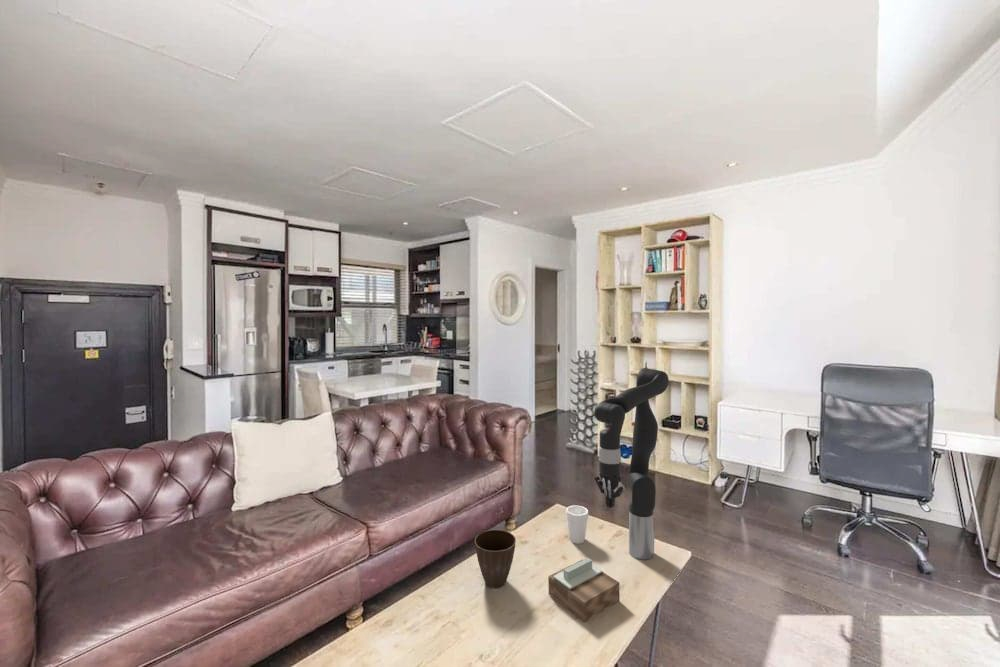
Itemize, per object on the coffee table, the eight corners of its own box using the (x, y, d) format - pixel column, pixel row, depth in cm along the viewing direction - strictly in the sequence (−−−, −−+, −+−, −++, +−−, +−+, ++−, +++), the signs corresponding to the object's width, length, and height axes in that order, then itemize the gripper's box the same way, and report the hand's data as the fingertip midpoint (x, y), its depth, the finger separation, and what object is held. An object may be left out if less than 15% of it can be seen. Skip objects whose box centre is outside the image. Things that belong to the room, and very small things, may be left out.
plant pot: (505, 566, 168) (504, 526, 167) (523, 588, 155) (523, 544, 154) (469, 576, 162) (468, 535, 161) (485, 600, 148) (484, 555, 147)
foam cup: (591, 537, 188) (591, 508, 187) (583, 547, 180) (583, 517, 180) (571, 532, 193) (571, 503, 192) (562, 541, 185) (562, 512, 185)
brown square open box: (582, 576, 161) (582, 559, 161) (619, 600, 147) (619, 582, 147) (548, 594, 151) (548, 576, 151) (584, 622, 137) (584, 602, 137)
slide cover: (585, 561, 159) (585, 552, 158) (602, 572, 152) (602, 562, 152) (553, 577, 149) (553, 567, 149) (569, 589, 143) (569, 579, 143)
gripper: (588, 456, 156) (588, 503, 157) (617, 467, 145) (618, 517, 146) (602, 452, 161) (602, 497, 161) (632, 462, 150) (632, 510, 151)
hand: (610, 507), depth 154 cm, fingers closed
